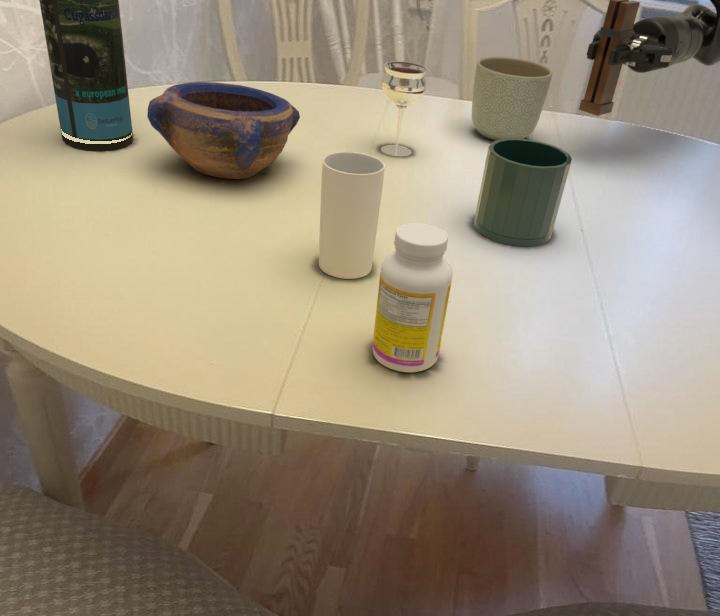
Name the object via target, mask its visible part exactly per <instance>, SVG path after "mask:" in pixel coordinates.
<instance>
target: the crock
mask: <svg viewBox="0 0 720 616" xmlns="http://www.w3.org/2000/svg"><path fill="white" fill-rule="evenodd" d="M572 161H573V158H572V156H571V155H570V154H569V153H568V152H566V150H564V149H562V148H560V147H558V146H556V145H553V144H550V143H547V142H543V141H540V140H534V139H527V138H524V139H518V138H517V139H516V138H511V139H501V140H496V141H495V140H493V141H492V142H491V143H489V145H488V148H487V153H486V158H485V163H484V168H483V173H482V178H481V182H480V188H479V193H478V199H477V204H476V209H475V213H474V221H473V226H474V229H475V230H476V231H477V232H478V233H479V234H480V235H482V236H483V237H485V238H487V239H489V240H491V241H494V242H496V243H500V244H503V245H508V246H515V247H537V246H541V245H543V244H546V243H547V242H549V241H550V240H551V238H552V234H553V231H554V227H555V223H556V220H557V217H558V213H559V209H560V206H561V201H562V198H563V195H564V191H565V188H566V184H567V180H568V176H569V172H570V168H571V164H572Z"/></svg>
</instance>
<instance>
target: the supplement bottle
mask: <svg viewBox="0 0 720 616" xmlns="http://www.w3.org/2000/svg"><path fill="white" fill-rule="evenodd" d="M448 240H449V236H448V233H447V232H446V231H445V230H443V229H442V228H440V227H438V226H435V225H433V224H428V223H423V222H410V223H409V222H408V223H404V224H402V225H400V226H398V227H397V228H396V230H395V235H394V241H393V245H394V248H395V250H394V251H392V252H390V253H389V254H388V255H387V256H385V258H384V259H383V260H382V262H381V264H380V265H381V266H380V271H379V281H378V292H377V300H376V308H375V309H376V310H375V318H374V326H373V327H374V329H373V337H372V353H373V356H374V358H375V359H376V361H377V362H378V363H380V364H381V365H382V366H384V367H386V368H388V369H391V370H393V371H396V372H402V373H418V372H422V371H425V370H427V369H429V368H431V367H433V366H434V365H435V364H436V362H437V360H438V358H439V353H440V350H441V344H442V338H443V333H444V327H445V322H446V315H447V310H448V304H449V298H450V293H451V286H452V281H453V269H452V266H451V264H450V262H449V261H448V260H447V258H445V257H444V255H445V253H446V251H447V247H448V242H449V241H448Z"/></svg>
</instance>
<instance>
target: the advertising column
mask: <svg viewBox="0 0 720 616" xmlns="http://www.w3.org/2000/svg"><path fill="white" fill-rule="evenodd" d="M38 1H39V7H40V13H41V20H42V25H43V26H42V27H43V31H44V37H45V43H46V50H47V55H48V61H49V67H50V72H51V79H52V85H53V92H54V99H55V103H56V109H57V115H58V121H59V128H60V130H61V129H62V131H63V132H64V133H66V134H68V135H70V136H72V137H75V138H79V139H83V140H90V141H112V140H119V139H123V138H126V137H127V136H129V135H131V133H132V136H131V137H130V138H128V139H126V140H124V141H121V142H117V143H111V144H85V143H80V142H74V141H72V140H69V139H67V138H65V137H64V136H63V135H62V133H61V132H60V134H61V139H62V140H61V141H62V142H63V143H64V144H65V145H66V146H68V147H69V148H73V149H76V150H81V151H85V152H102V153H103V152H111V151H118V150H121V149H124V148H127V147H129V146H130V145H132V144H133V142H134V133H133V125H132V124H133V123H132V116H131V115H132V114H131V106H130V105H131V104H130V95H129V85H128V77H127V76H128V75H127V67H126V58H125V48H124V39H123V29H122V19H121V10H120V9H121V8H120V1H119V0H38Z"/></svg>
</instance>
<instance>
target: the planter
mask: <svg viewBox="0 0 720 616" xmlns="http://www.w3.org/2000/svg"><path fill="white" fill-rule="evenodd" d="M552 78H553V70H552V69H551V68H550V67H548V66H546V65H545V64H542V63H539V62H536V61H533V60H529V59H525V58H518V57H514V56H513V57H512V56H499V55H498V56H497V55H496V56H495V55H494V56H485V57H481V58H479V59H478V60H477V62H476V68H475V74H474V81H473V90H472V100H471V122H472V125H473V126H474V128H475V130H476V131H477V132H478V133H479V134H480V135H481V136H483V137H484V138H486V139H488V140H492V141H496V140H501V139H511V138H516V139H517V138H518V139H527V138H528V137H529V136H530V135H531V134H532V133H533V132H534V131H535V129H536V127H537V125H538V122H539V120H540V117H541V115H542V112H543V108H544V107H545V106H544V105H545V102H546V99H547V96H548V92H549V89H550V85H551V83H552V82H551V81H552Z"/></svg>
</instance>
